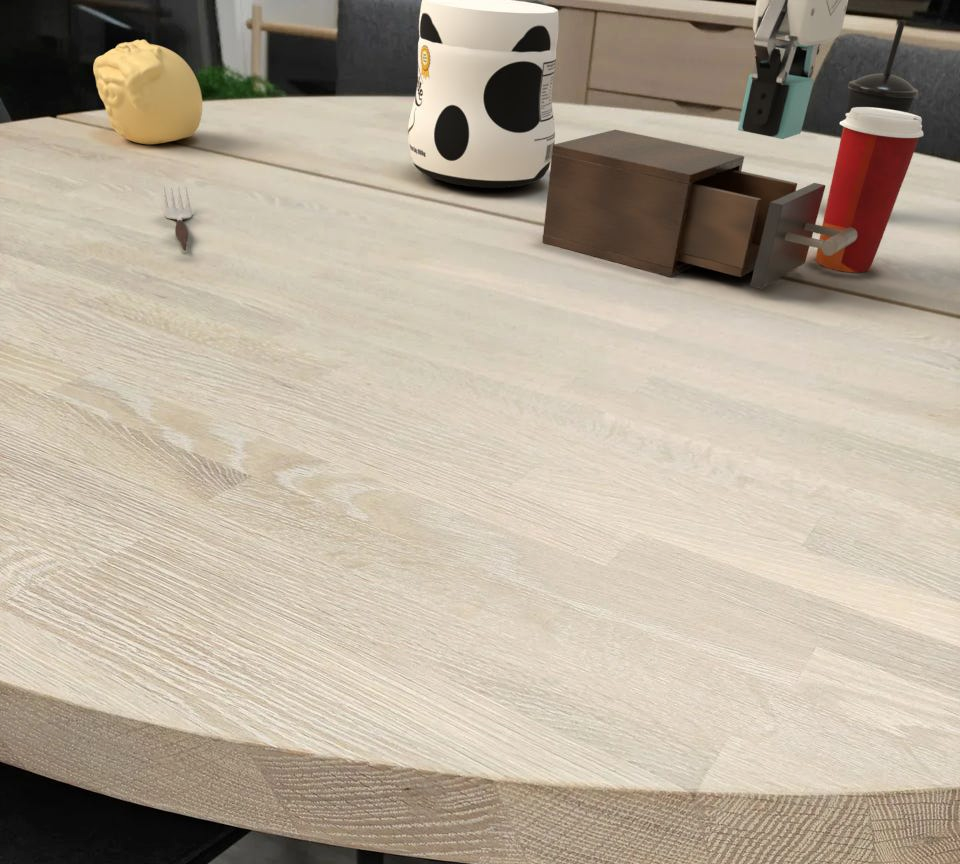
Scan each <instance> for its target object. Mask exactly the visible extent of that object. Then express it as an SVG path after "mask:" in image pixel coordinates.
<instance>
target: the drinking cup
mask: <svg viewBox="0 0 960 864" xmlns="http://www.w3.org/2000/svg"><path fill="white" fill-rule="evenodd" d="M905 25H906V20H903V19H900V20H898V23H897V27H896V31H895V33H894V37H893V40H892V45H891V48H890V51H889V55H888V59H887V63H886V66H885V70H884V73H880V72H879V73H871V74H868V75H867V74H866V75H864V76H861V77H859V78H858V79H855V80H850V81H849V82H848V85H847V87H848V89H849V92H848V96H847V97H848V98H847V102H846V103H847V104H846V107H845V113H844V114H845V115H844V119H843V120H845V119H846V117H847V116H846V113H850V111H851V109H852V108H855V107H872V108H883V109H890V110H896V111H902V112H906V113H910V109H911V107H912V104H913V101H914V99H915V98H917V97H918V95H919V89H917V88H915V87H913V86H912V84H911V83H910V82H908V81H907V80H905V79H904V78H902V77H900V76H897V75H894V74H892V71H893V66H894V63H895V59H896V56H897V53H898V50H899V45H900V42H901V39H902V36H903V32H904V28H905ZM843 127H844V126H842V130H841V133H842V132H843ZM841 136H842V134H841ZM841 136H840V137H841ZM840 141H841V139H840V140H839V142H840Z"/></svg>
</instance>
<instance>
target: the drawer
mask: <svg viewBox="0 0 960 864" xmlns="http://www.w3.org/2000/svg"><path fill="white" fill-rule="evenodd" d="M797 187H798V182H793V181H790V180H784V179H779V178H776V177H771V176H766V175H762V174H761V175H760V174H757V173H751V172H747V171H742V170H741V171H738V170H734V169H729V170H726V171H724V172H721V173H718V174H715V175H712V176H710V177H707V178H704V179H701V180H698V181H696V182H693V183H692V186H691V191H690V197H689V202H688V207H687V212H686V218H685V223H684V228H683V233H682V239H681V244H680V249H679V254H678V260H677V261H680V262H684V263H688V264H692V265H694V267H700V268H703V269H708V270H711V271H715V272H718V273H721V274H723V273H724V274H726V275H729V276H734V277H737V278H743V276H745V275H748V274H749V273H751V272H752V277H751V281H750V287H754V288H758V289H761V290H762V289H764V288H766V287H768V286H769V285H771V284H773V283H774V282H776V281H777V280H779V279H781V278H782V277H784V276H786V275H789V274H790V273H791V272H792V271H794V270H796V269H798V268H799V267H801V266H803V265H804V264H805V263H806V261H807V257H808V254H809V250H810V247H812V248H816V249H818V248H820V249H821V250H822V252H823V254H824V255H826V256H831V255H833V254H835V253H836V252H838V251H840V250H841V249H843V248H845V247H846V246H848V245H849V244H851V243H853V242H854V241H855V240H856V239H857V231H856V230H855V229H854V228H851V227H849V228H847V229H845V230H843V231H842V230H837V229H833V228H829V227H824V226H822V225H820V224H817V219H818V216H819V212H820V208H821V205H822V202H823V201H822V200H823V197H824V193H825V190H826V184H822V183H817V182H813V183H811V184H807V185H806V186H804V187H801V188H799V189H797ZM814 234H819V235H820V234H823V235H827V236H832V237H831V238H829V239H827V240H826V241H823V240H819V239H820V238H819V239H818V238H816V237H815V238H814V237H813V235H814Z"/></svg>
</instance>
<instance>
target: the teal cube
mask: <svg viewBox="0 0 960 864" xmlns="http://www.w3.org/2000/svg"><path fill="white" fill-rule="evenodd" d="M814 81H815V79H814V78H812V77H811V78H806V77H800V76H794V75H788V77H787V80H786V83H785V85H789V90H788V94H787V98H786V102H785V106H784V111H783V115H782V119H781V123H780V127H779V132H778V134H777V135H775V136H772V137H771V136H768V137H770V138H775V139H780V140H784V139H788V138H790V137H794V136H797V135H800V134H801V133H802V129H803V126H804V121H805V119H806V118H805V117H806V114H807V109H808V105H809V102H810V97H811V94H812V90H813V86H814ZM751 84H752V73H751V74H749V76H748V80H747V85H746V89H745V94H744V99H743V103H742V107H741V112H740V117H739V121H738V127H737V131H741V132H745V133H747V132H746V131H744V130H743V128H742V125H743V121H744V116H745V112H746V107H747V102H748V98H749V93H750V89H751ZM749 133H750V134H752V133H751V132H749ZM754 134H755V135H757V134H756V133H754ZM760 135H761V134H759V136H760ZM761 136H762V135H761ZM764 136H766V135H764ZM766 137H767V136H766Z"/></svg>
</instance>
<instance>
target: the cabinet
mask: <svg viewBox="0 0 960 864" xmlns="http://www.w3.org/2000/svg"><path fill="white" fill-rule="evenodd" d="M552 153H553V154H552V159H551V162H550V167H549V168H550V169H549V178H548V188H547V195H546V205H545V215H544V224H543V232H542V233H543V234H542V241H541V242H542V243H544V244H547V245H551V246H555V247H559V248H561V249H565V250H570V251H573V252H577V253H580V254H584V255H588V256H592V257H595V258H599V259H603V260H607V261H610V262H614V263H617V264H621V265H625V266H629V267H633V268H636V269H639V270H640V269H641V270H643V271H647V272H651V273H655V274H658V275H663V276H666V277H670V278H673V277H674V276H676V275H679V274H680V273H682V272H685V271H686V270H688V269H690V268H692V267H695V265H692V264H688V263H684V262H680V261H677V260H678V254H679V249H680V244H681V239H682V233H683V228H684V223H685V218H686V212H687V207H688V202H689V197H690V191H691V186H692V183H693V182H696V181H698V180H701V179H704V178H707V177H710V176H712V175H715V174H718V173H721V172H724V171H726V170H729V169H734V170H738V171H742V169H743V165H744V161H745V156H744V155H741V154H737V153H736V154H735V153H731V152H725V151H721V150H716V149H712V148H706V147H701V146H697V145H692V144H689V143H682V142H677V141H673V140H668V139H663V138H660V137H659V138H658V137H654V136H648V135H644V134H639V133H635V132H629V131H624V130H619V129H612V130H608V131H604V132H600V133H599V132H598V133H595V134H591V135H588V136H583V137H579V138H575V139H571V140H566V141H562V142H558V143H554V145H553V149H552Z"/></svg>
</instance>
